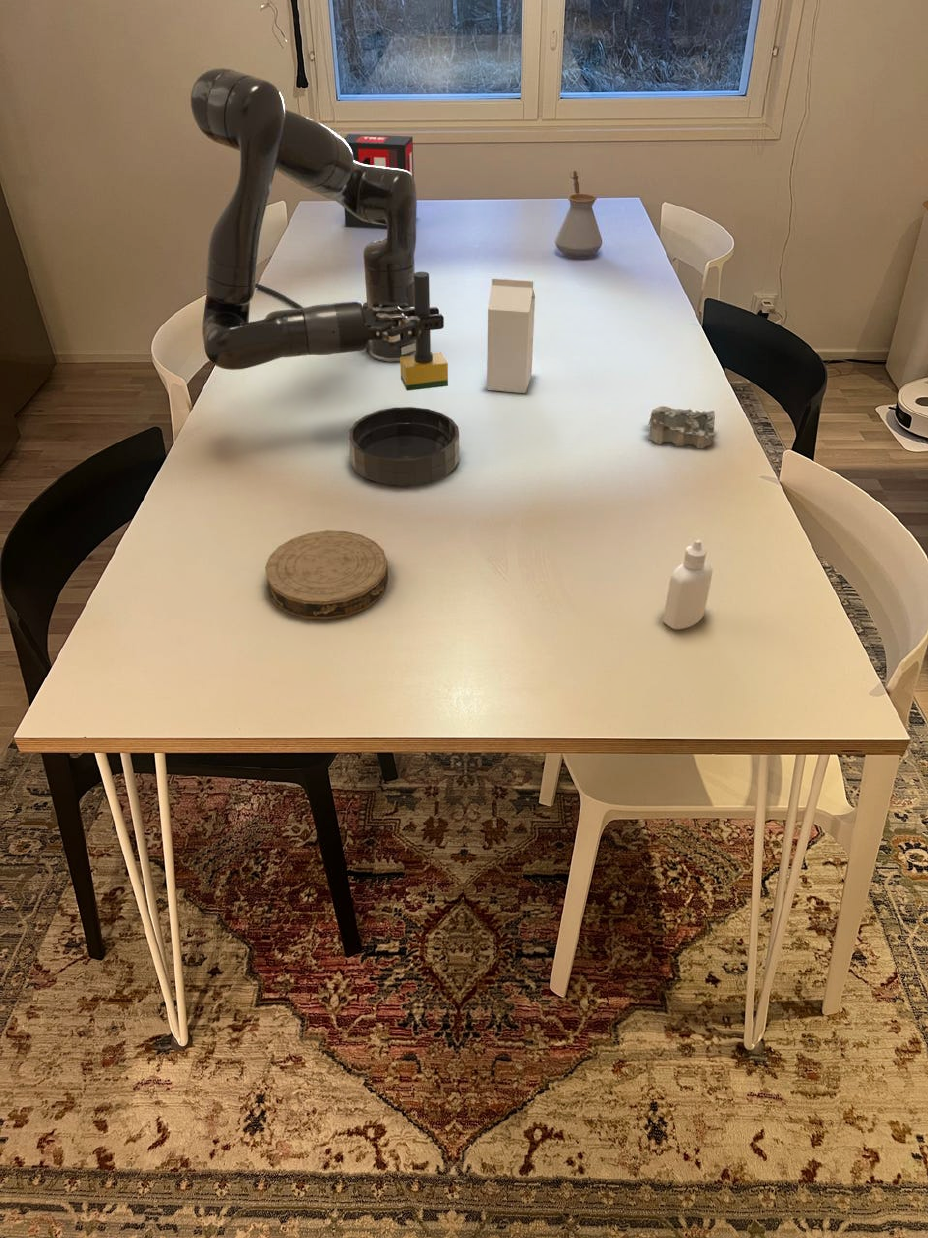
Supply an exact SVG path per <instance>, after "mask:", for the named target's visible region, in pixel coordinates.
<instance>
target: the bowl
mask: <svg viewBox="0 0 928 1238" xmlns="http://www.w3.org/2000/svg"><path fill="white" fill-rule="evenodd" d="M348 431H349V432H348V443H349V456H350V464H351V465H352V467H353V469H354V471H355V472H356V473H358V474H359V475H360V476H362V477H364V478H365V479H367V480H371V481H373V482H376V483H379V484H381V485H386V486H387V485H389V486H400V487H408V486H417V485H423V484H427V483H431V482H434V481H436V480H439V479H442V478H443V477H445V476H447V475H448V474H450V473H451V472H452V471H453V470H454V469H455V468H456V467H457V465H458V463H459V461H460V430H459V426H458V425H457V423H456V422H455V421H454V419H452V418H451V417H449V416H447V414H444V413H442V412H438V411H435V410H432V409H429V408H422V407H414V406H413V407H412V406H411V407H409V406H408V407H391V408H386V409H381V410H377V411H373V412H372V413H369V414H366V415H364V416H363V417H361V418H360V419H358V420H356V421H355V422H354V423H353V424H352V426H351V427H350V428H349V430H348Z"/></svg>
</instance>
